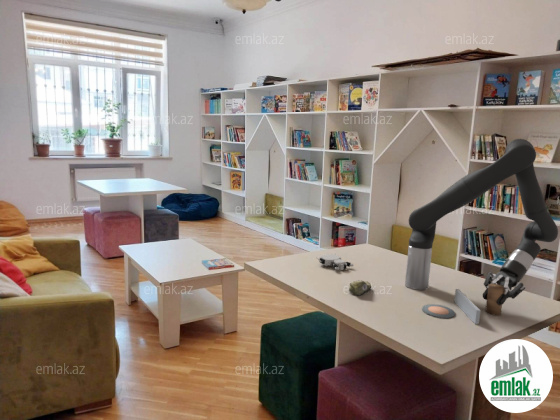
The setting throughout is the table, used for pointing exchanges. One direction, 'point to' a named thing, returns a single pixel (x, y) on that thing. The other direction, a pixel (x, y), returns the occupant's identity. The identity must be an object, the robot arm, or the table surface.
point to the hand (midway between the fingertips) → (491, 301)
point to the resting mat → (438, 311)
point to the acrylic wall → (467, 306)
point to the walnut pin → (494, 299)
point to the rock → (359, 287)
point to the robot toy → (334, 261)
